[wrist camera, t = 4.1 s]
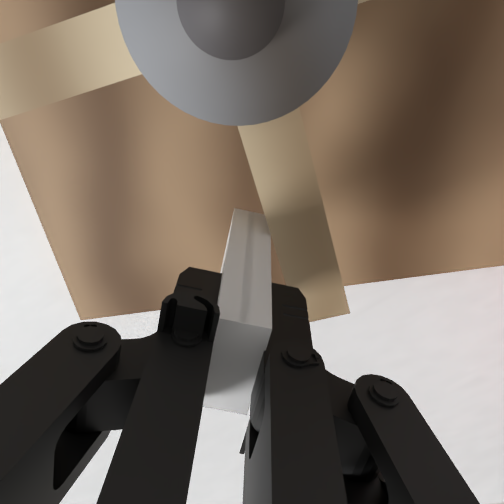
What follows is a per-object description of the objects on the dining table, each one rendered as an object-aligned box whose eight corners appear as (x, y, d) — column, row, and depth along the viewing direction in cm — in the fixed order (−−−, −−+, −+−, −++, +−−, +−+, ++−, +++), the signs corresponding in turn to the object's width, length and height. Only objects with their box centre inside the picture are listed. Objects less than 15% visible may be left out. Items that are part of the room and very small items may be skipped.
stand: (89, 306, 24) (55, 360, 21) (-180, -379, 14) (-348, -523, 10) (520, 249, 22) (571, 298, 18) (590, -638, 11) (743, -955, 8)
